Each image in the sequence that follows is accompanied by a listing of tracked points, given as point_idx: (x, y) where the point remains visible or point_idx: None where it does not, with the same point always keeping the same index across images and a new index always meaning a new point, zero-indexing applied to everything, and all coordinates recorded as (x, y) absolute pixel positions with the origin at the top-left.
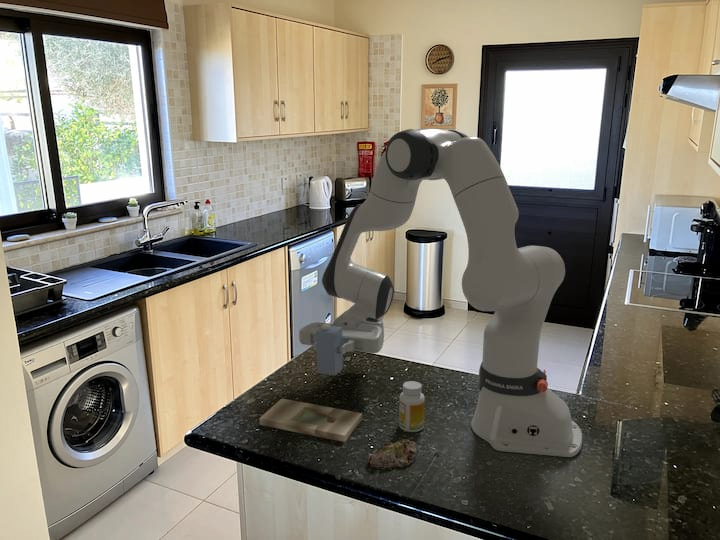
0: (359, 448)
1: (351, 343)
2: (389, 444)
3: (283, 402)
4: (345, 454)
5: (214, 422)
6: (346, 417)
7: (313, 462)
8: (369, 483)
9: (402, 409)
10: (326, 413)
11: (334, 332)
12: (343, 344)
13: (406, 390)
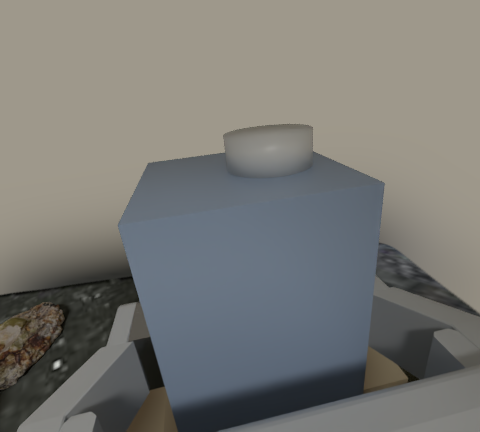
0: (87, 345)
1: (48, 405)
2: (3, 360)
3: (374, 362)
4: (114, 318)
5: (408, 266)
6: None
7: None
8: (62, 290)
9: None
10: None
11: (156, 168)
12: (132, 337)
13: None
